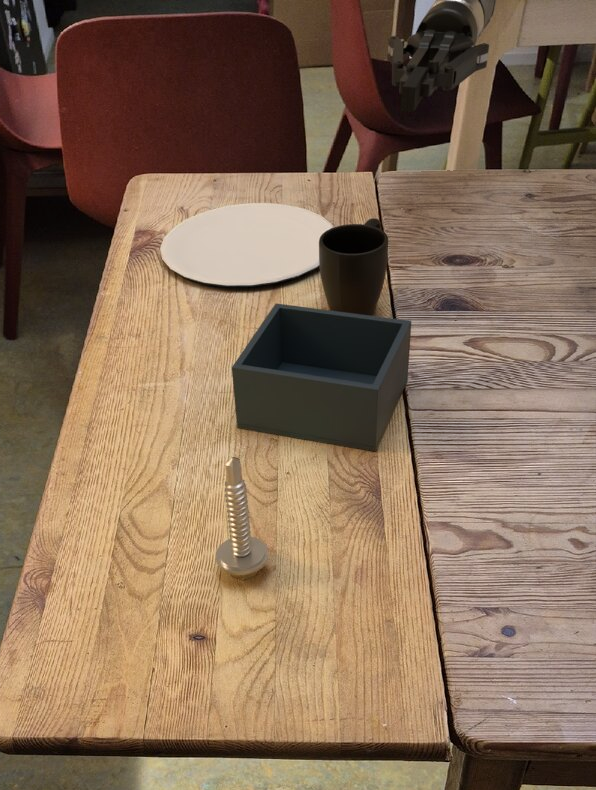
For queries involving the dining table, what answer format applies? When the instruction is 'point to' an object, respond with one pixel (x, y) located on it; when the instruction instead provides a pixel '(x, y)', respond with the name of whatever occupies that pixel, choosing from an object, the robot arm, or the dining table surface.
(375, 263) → the mug
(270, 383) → the box
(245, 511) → the screw
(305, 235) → the plate
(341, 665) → the dining table surface
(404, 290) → the dining table surface
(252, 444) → the dining table surface
